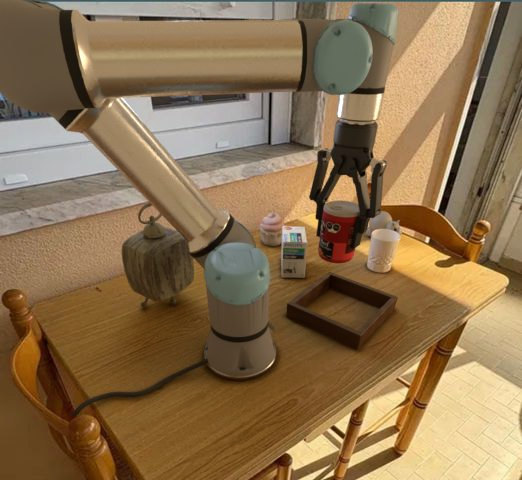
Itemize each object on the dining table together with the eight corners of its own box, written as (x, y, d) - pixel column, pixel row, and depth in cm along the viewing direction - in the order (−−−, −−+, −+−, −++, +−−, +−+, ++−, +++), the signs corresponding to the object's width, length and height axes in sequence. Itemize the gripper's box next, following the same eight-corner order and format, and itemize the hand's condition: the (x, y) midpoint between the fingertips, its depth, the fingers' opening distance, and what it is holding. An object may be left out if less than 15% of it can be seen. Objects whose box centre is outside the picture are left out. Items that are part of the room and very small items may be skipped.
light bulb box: (305, 278, 106) (308, 242, 99) (281, 278, 106) (282, 242, 99) (302, 260, 114) (305, 225, 107) (280, 259, 115) (281, 225, 107)
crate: (357, 349, 84) (360, 335, 81) (286, 316, 93) (286, 303, 90) (394, 310, 95) (397, 296, 93) (327, 284, 104) (329, 271, 102)
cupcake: (253, 245, 121) (253, 215, 115) (264, 234, 128) (264, 204, 121) (281, 251, 119) (282, 219, 112) (290, 238, 125) (292, 208, 119)
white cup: (398, 269, 111) (407, 236, 104) (379, 276, 108) (387, 243, 101) (377, 258, 116) (385, 226, 109) (359, 265, 112) (365, 233, 106)
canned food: (314, 248, 88) (320, 200, 80) (348, 247, 88) (356, 199, 81) (321, 264, 82) (328, 214, 75) (357, 263, 83) (367, 213, 75)
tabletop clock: (175, 283, 104) (160, 189, 87) (200, 294, 100) (189, 198, 83) (134, 308, 95) (108, 209, 78) (159, 321, 91) (138, 219, 74)
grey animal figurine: (390, 249, 120) (396, 223, 115) (361, 235, 128) (366, 210, 122) (404, 243, 124) (411, 217, 118) (376, 230, 131) (381, 205, 125)
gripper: (421, 125, 65) (389, 249, 80) (319, 109, 75) (307, 222, 90) (403, 133, 61) (373, 261, 76) (297, 114, 70) (289, 232, 85)
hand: (337, 240), depth 83 cm, fingers closed on canned food, 8 cm apart
